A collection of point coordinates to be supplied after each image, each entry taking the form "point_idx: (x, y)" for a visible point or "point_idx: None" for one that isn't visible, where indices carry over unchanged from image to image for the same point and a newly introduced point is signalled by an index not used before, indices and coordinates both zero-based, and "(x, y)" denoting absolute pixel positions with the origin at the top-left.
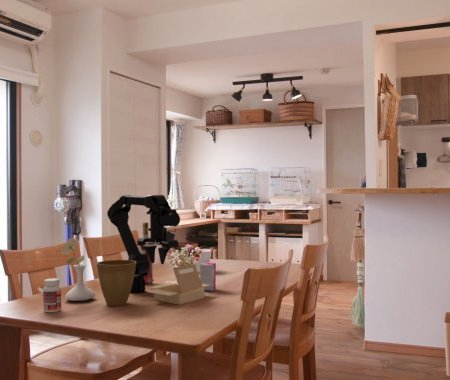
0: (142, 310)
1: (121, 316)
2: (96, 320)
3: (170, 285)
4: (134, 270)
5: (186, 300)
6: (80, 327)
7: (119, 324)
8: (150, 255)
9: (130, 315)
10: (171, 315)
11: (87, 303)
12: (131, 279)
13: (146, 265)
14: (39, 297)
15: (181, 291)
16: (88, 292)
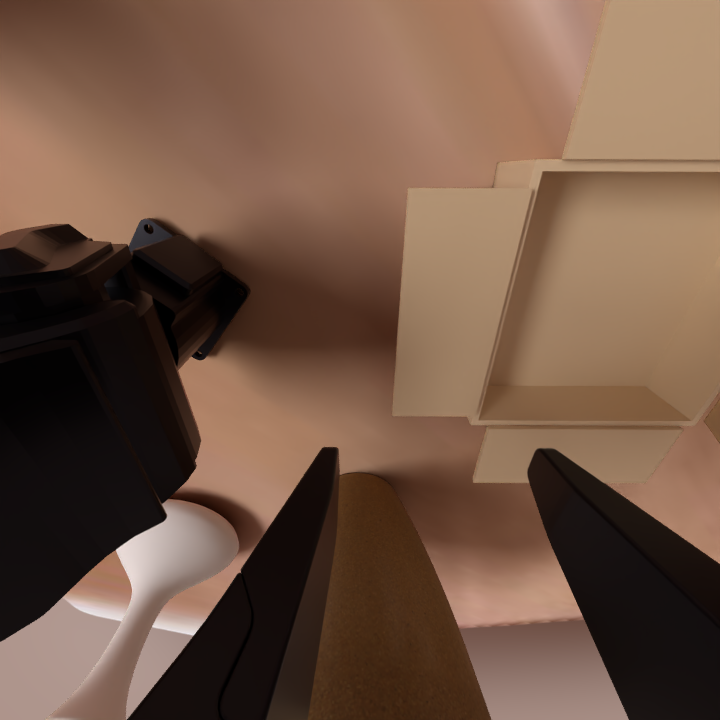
0: (520, 506)
1: (499, 562)
2: (462, 597)
3: (508, 281)
4: (469, 668)
5: (681, 354)
6: (471, 625)
7: (546, 592)
8: (317, 639)
9: (519, 548)
10: (665, 500)
11: (262, 534)
12: (451, 610)
13: (135, 373)
14: None
15: (712, 422)
16: (216, 555)
